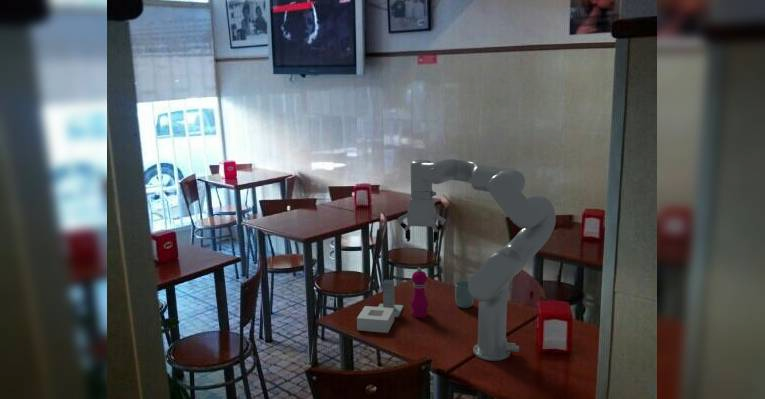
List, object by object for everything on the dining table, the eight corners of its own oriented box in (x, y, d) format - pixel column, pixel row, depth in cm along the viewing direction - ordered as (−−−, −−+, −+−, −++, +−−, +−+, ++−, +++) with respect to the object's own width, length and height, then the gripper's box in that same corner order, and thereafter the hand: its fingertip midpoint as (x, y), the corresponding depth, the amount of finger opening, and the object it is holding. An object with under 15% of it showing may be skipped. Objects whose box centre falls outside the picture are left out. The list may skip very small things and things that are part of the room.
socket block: (394, 319, 230) (394, 308, 229) (387, 332, 219) (387, 320, 218) (365, 317, 233) (364, 306, 232) (357, 330, 221) (356, 318, 220)
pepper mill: (428, 311, 238) (428, 264, 234) (428, 318, 231) (428, 270, 227) (411, 310, 239) (410, 264, 235) (410, 318, 232) (409, 270, 228)
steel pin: (394, 307, 240) (394, 280, 237) (392, 311, 236) (392, 283, 234) (385, 306, 241) (384, 279, 238) (383, 310, 237) (382, 282, 234)
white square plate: (403, 307, 242) (403, 305, 242) (398, 317, 233) (398, 314, 233) (379, 305, 245) (379, 303, 244) (374, 315, 235) (374, 312, 235)
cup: (451, 304, 244) (451, 282, 242) (467, 301, 248) (467, 279, 245) (461, 311, 237) (461, 288, 235) (477, 307, 241) (477, 285, 239)
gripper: (447, 193, 207) (446, 239, 211) (399, 192, 211) (400, 237, 215) (444, 197, 200) (444, 245, 204) (395, 196, 204) (396, 243, 208)
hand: (421, 241), depth 209 cm, fingers open, 9 cm apart
